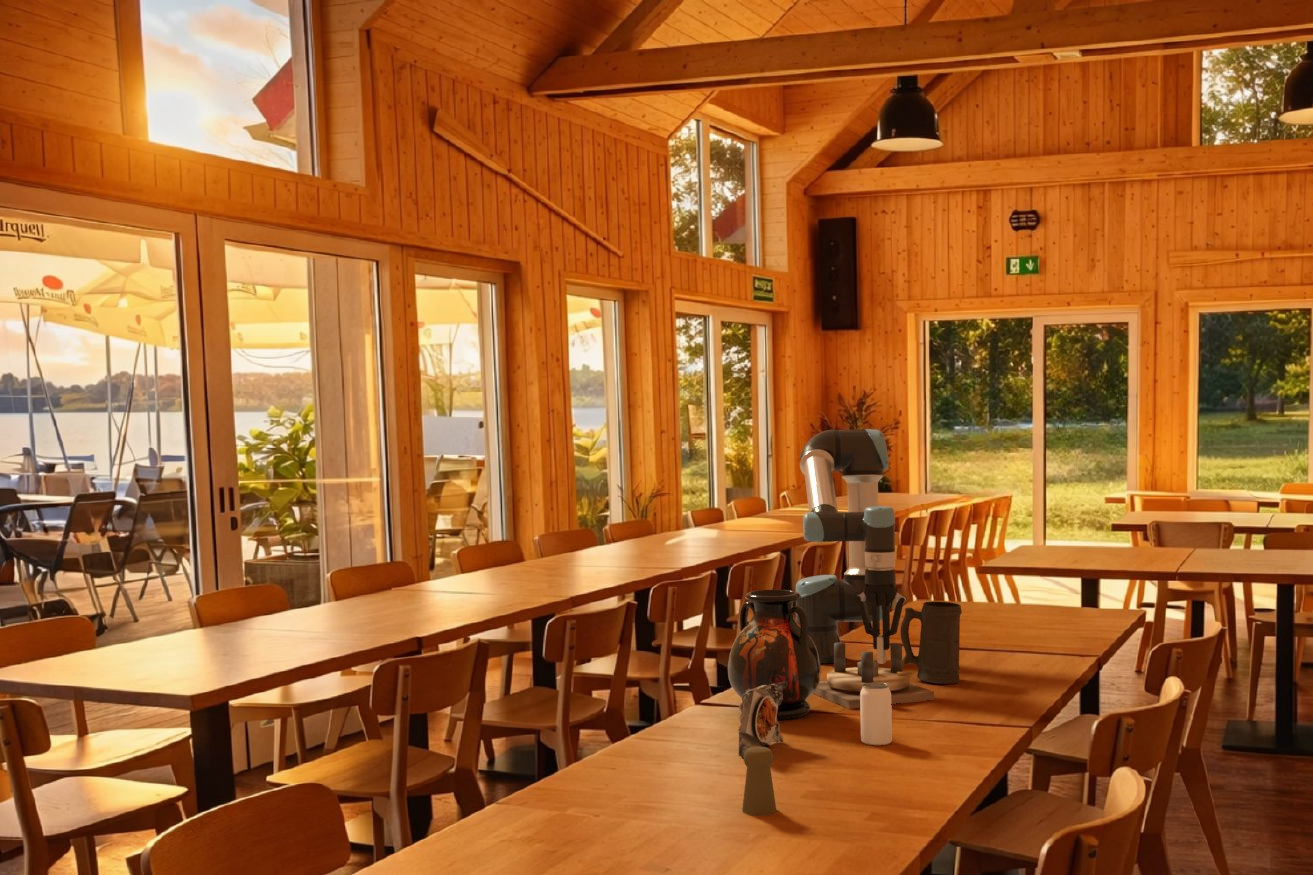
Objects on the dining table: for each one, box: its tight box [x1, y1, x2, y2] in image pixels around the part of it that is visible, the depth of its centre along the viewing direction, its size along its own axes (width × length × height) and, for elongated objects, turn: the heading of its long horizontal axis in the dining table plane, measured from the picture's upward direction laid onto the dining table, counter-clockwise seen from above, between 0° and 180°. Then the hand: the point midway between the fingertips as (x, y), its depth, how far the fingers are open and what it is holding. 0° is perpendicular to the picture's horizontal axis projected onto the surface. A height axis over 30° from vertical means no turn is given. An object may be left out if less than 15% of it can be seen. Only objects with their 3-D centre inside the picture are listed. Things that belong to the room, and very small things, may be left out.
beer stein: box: [900, 601, 963, 685], centre depth 333 cm, size 15×11×20 cm
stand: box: [812, 679, 935, 710], centre depth 318 cm, size 23×23×2 cm
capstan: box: [826, 641, 917, 692], centre depth 318 cm, size 20×20×9 cm
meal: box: [738, 682, 788, 759], centre depth 268 cm, size 15×4×13 cm, turn 149°
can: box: [859, 683, 893, 747], centre depth 272 cm, size 6×6×12 cm
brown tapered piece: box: [741, 746, 777, 817], centre depth 227 cm, size 6×6×11 cm
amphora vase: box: [727, 589, 822, 721], centre depth 301 cm, size 22×22×28 cm
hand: (881, 662), depth 324 cm, fingers closed
